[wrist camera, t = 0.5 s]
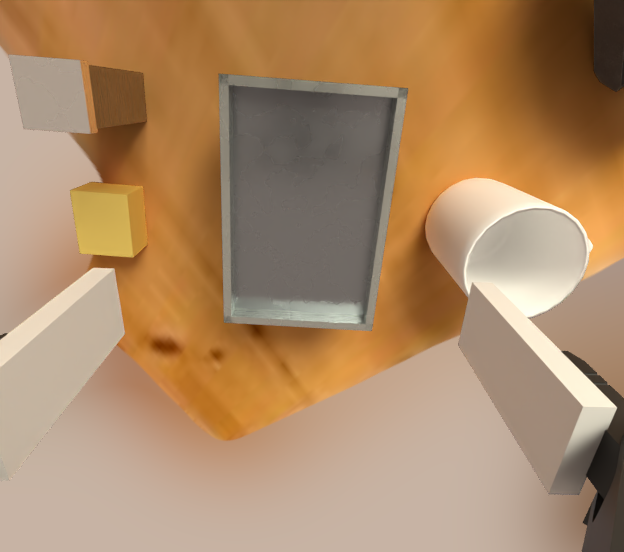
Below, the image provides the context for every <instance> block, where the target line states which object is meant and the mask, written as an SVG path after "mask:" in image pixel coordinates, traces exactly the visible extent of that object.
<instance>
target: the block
mask: <svg viewBox="0 0 624 552" xmlns="http://www.w3.org/2000/svg"><path fill="white" fill-rule="evenodd" d="M70 195H71V201H72V207H73V214H74V220H75V226H76V232H77V239H78V246H79V252H80V254H93V255H107V256H120V257H134V256H135V255H137V254H138V253H139V252H140V251H141V250H142V249H143V248H144V247H145V246H146V245H147V244H148V239H147V227H146V215H145V203H144V191H143V186H133V185H121V184H109V183H101V182H90V183H87V184H85V185H82V186H80V187H77V188H75V189H72V190H70Z"/></svg>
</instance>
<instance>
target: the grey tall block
mask: <svg viewBox="0 0 624 552" xmlns="http://www.w3.org/2000/svg"><path fill="white" fill-rule="evenodd" d="M9 60H10V65H11V70H12V75H13V79H14V84H15V89H16V94H17V99H18V103H19V108H20V113H21V118H22V123H23V128H24V129H30V130H44V131H58V132H72V133H86V134H92V133H98V132H97V129H100V128H106V127H113V126H119V125H126V124H133V123H139V122H146V121H147V114H146V103H145V92H144V81H143V73H141V72H134V71H127V70H120V69H113V68H106V67H99V66H92V65H88V61H82V60H72V59H59V58H46V57H33V56H20V55H9Z"/></svg>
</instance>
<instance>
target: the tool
mask: <svg viewBox="0 0 624 552" xmlns="http://www.w3.org/2000/svg"><path fill="white" fill-rule="evenodd" d="M594 73H595V74H596V76H597V78H598V80H599V81H600V82H601V83H602V84H604V85H606V86H607V87H609V88H610V89H612V90H614V91H615V92H617V91H618V90H620V89H621V88H623V87H624V0H594Z"/></svg>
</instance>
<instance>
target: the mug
mask: <svg viewBox="0 0 624 552" xmlns="http://www.w3.org/2000/svg"><path fill="white" fill-rule="evenodd" d="M425 231H426V239H427V242H428V244H429V247H430V249H431V251H432V253H433V254H434V255H435V257H436V258H437V259H438V260H439V262H440V263H441V264H442V265H443V267H444V268H445V269H446V270H447V272H448V273H449V274H450V276H451V277H452V278H453V279H454V281H455V282H456V283H457V284H458V286H459V287H460V288H461V289H462V291H463V292H464V293H465V294H466V296H467V297H468V298H469V293H470V289H471V284H472V282H486V283H493V284H494V285H495V286H496V287H497V288H498V289H499V290H500V291H501V292H502V293H503V294H504V295H505V296H506V297H507V298H508V299H509V300H510V301H511V302H512V303H513V304H514V305H515V306H516V307H517V308H518V309H519V310H520V311H521V312H522V313H523V314H524V315H525V316H526V317H527V318H528V319H529V318H533V317H536V316H538V315H541V314H544V313H546V312H548V311H550V310H551V309H553V308H554V307H556V306H558V305H559V304H561V303H562V302H563V301H564V300H565V299H566V298H567V297H568V296H569V295H570V294H571V293H572V292H573V291H574V290H575V289H576V287H577V286H578V284H579V283H580V281H581V280H582V278H583V276H584V273H585V271H586V268H587V265H588V262H589V253H590V251H591V250H592V248H593V245H592V243H591V241H590V240H589V239H588V238H587V233H586V231H585V230H584V228H583V227H582V225H581V224H580V222H579V220H577V219H576V218H575V217H573V216H572V215H571V214H570V213H568V212H567V211H565V210H563V209H560V208H558V207H556V206H554V205H551V204H549V203H547V202H545V201H542V200H540V199H538V198H535V197H533V196H531V195H529V194H526V193H524V192H522V191H520V190H517V189H515V188H513V187H511V186H508V185H506V184H504V183H501V182H498V181H496V180H493V179H488V178H471V179H466V180H462V181H460V182H458V183H456V184H454V185H452V186H450V187H449V188H447V189H446V190H445V191H444V192H442V193H441V194H440V195H439V197H438V198H437V199H436V200H435V202H434V203H433V204H432V206H431V208H430V211H429V213H428V215H427V219H426V225H425Z"/></svg>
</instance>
